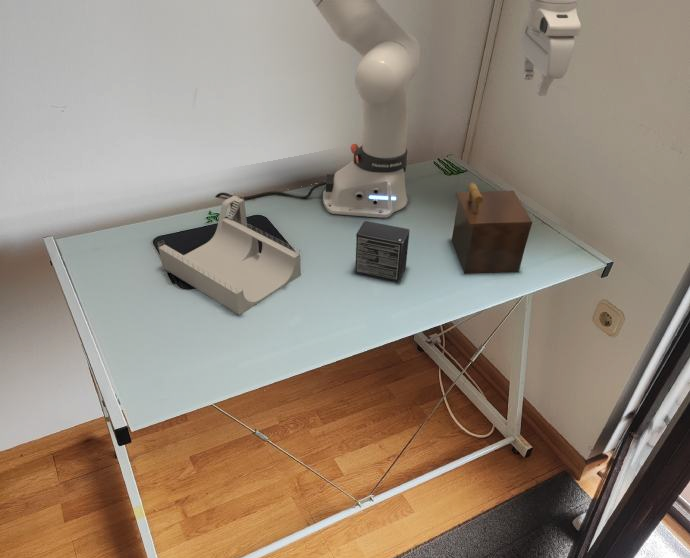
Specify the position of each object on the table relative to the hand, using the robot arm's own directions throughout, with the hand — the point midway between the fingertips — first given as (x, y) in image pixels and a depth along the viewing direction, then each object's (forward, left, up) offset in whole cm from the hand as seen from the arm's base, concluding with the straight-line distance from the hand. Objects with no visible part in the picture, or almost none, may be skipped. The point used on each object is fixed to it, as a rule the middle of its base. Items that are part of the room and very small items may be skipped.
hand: (534, 86), depth 126 cm
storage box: (-9, -15, -33) cm, 38 cm away
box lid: (-9, -15, -21) cm, 28 cm away
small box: (-34, -20, -33) cm, 52 cm away
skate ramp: (-66, -17, -33) cm, 76 cm away
